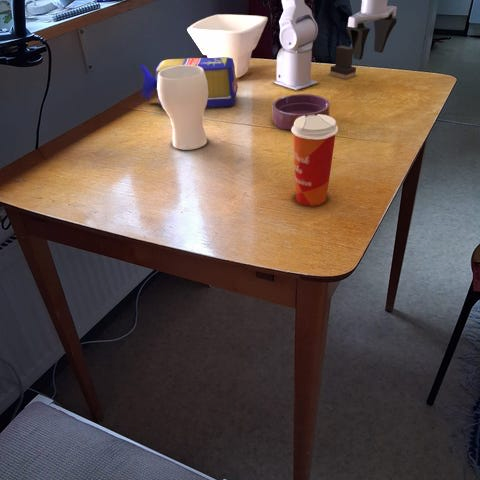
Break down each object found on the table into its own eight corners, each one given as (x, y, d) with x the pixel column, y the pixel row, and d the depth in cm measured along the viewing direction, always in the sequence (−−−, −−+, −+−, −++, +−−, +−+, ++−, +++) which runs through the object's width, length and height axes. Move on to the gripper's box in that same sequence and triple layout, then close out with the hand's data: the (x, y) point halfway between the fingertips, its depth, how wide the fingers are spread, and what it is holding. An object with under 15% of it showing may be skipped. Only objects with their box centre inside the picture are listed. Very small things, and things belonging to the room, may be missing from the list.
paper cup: (287, 190, 91) (288, 115, 82) (327, 186, 91) (332, 111, 82) (293, 211, 86) (295, 133, 76) (336, 207, 86) (343, 128, 76)
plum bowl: (260, 121, 116) (260, 104, 114) (301, 106, 122) (301, 90, 119) (299, 137, 108) (299, 119, 106) (340, 120, 114) (341, 103, 111)
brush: (330, 74, 139) (332, 47, 134) (339, 71, 141) (341, 44, 136) (345, 79, 136) (348, 50, 131) (355, 75, 137) (358, 47, 132)
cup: (219, 135, 112) (213, 65, 101) (202, 155, 105) (194, 81, 94) (178, 131, 115) (168, 63, 104) (158, 150, 107) (146, 78, 97)
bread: (235, 109, 123) (233, 65, 116) (142, 111, 126) (133, 68, 119) (239, 95, 131) (237, 53, 124) (150, 97, 133) (143, 56, 126)
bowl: (217, 64, 153) (213, 13, 143) (273, 69, 146) (273, 16, 136) (187, 83, 141) (181, 28, 131) (247, 89, 134) (245, 32, 124)
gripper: (368, -4, 103) (360, 65, 113) (411, -15, 110) (400, 51, 119) (343, -8, 108) (338, 59, 117) (386, -18, 114) (378, 46, 123)
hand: (368, 55), depth 118 cm, fingers open, 7 cm apart
